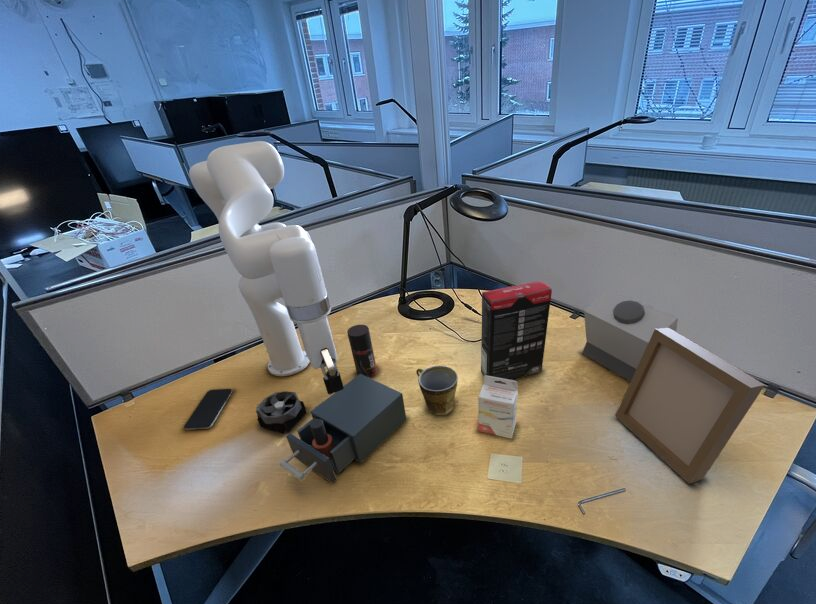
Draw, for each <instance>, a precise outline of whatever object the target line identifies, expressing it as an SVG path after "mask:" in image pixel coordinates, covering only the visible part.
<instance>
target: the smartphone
mask: <svg viewBox="0 0 816 604" xmlns="http://www.w3.org/2000/svg"><path fill="white" fill-rule="evenodd" d="M232 393H233V389H232V388H220V389H219V388H218V389H209V390H208V391H206V393H205V395H204V396H203V397H202V399H201V400H200V402H199V403H198V405H197V406H196V408H195V409H194V410H193V412H192V414H191V415H190V417H189V418H188V420H187V421H186V422H185V424H184V425H183V428H184V430H187V431H188V430H189V431H192V430H206V429H207V430H208V429H210V428H212V427H213V425H214V423H215V422H216V420H217V419H218V417H219V415H220V414H221V412H222V411H223V409H224V407H225V405H226V404H227V402H228V400H229V398H230V397H231V396H232Z"/></svg>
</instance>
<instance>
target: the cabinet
mask: <svg viewBox="0 0 816 604" xmlns="http://www.w3.org/2000/svg"><path fill="white" fill-rule="evenodd" d="M343 387H344V389H343V390H340V391H338V392H335V393H332V394H330V396H329V397H327V398H326V399H324V400H323V401H322V402H321V403H319V404H318V405H316V407H314V408H313V409H312V410H310V415H311V418H312V419H313V418H314V417H317V418H319V419H321V420H322V421H324V422H326V423H327V424H329V425H331V426H332V427H334V428H336V429H338V430H339V431H341V432H343V433H344V434H346V435H348V436H349V437H351V438H352V442H353V445H354V449H355V452H356V456H357V457H356V458H355V459H354V460H355V461H356V462H357V463H359V464H361V463H363V462H364V461H365V460H366V459H367V458H368V457H369V456H370V455H371V454H372V453H373V452H374V451H376V449H377V448H378V447H380V446H381V445H382V444H383V443H384V442H385V441H386V440H387V438H389V437H390V436H391V435H392V434H393V433H394V432H395V431H397V429H398V428H400V426H401V425H402V424H404V422H405V421H407V413H406V408H405V402H404V396H403V392H400V391H398V390H397V389H395V388H392V387H389V386H387V385H386V384H383V383H381V382H379V381H377V380H375V379H372V377H370V378H369V377H367V376H364V375H362V374H359V375H356V376H355V377H353V379H351V380H350V381H349V382H347V383H346V384H345V385H343ZM354 460H353V461H354Z"/></svg>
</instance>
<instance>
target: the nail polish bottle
mask: <svg viewBox="0 0 816 604" xmlns="http://www.w3.org/2000/svg"><path fill="white" fill-rule="evenodd" d="M310 428H311V430H312V433H313V436H314V440H313V442H312V445H313V447H314V449H316V450H317V451H319V452H320V453H322V454H323V455H325V456H326V457H328V458H329V459H330V460H331V459H332V457H331V454H330V451H331V450H333V449H334V448H335V446H334V443H333V439H332V437H331V435H329V434H327V433H326V430H325V427H324V424H323V421H322V420H320V419H316V420H313V421H312V422H311V423H310Z"/></svg>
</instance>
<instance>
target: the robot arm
mask: <svg viewBox="0 0 816 604" xmlns="http://www.w3.org/2000/svg"><path fill="white" fill-rule="evenodd" d="M284 166H285V165H284V163H283V159H282V157H281V155H280V154H279V152H278V151H277V149H276V148H275V147H274V146H273V145H272V144H271V143H269V142H267V141H264V140H256V141H250V142H241V143H236V144H229V145H224V146H219V147H218V148H215V149H212V151H211V152H210V153H209V154H208V155H207V159H206V160H204V161H199V162H197V163H195V164H193V165H191V167H190V168H189V171H188V175H189V180H190V182H191V184H192V186H193V188H194V191H196V193H197V194H198V196H199V197H200V199H202V201H203V202H204V203H205V204H206V205H207V206H208V207H209V209H210V210H211V212H212V213H214V215H215V217H216V219H217V221H218V234H219V239H220V241H221V244H222V246H223V248H224V251H225V252H226V254H227V255H228V257H229V260H230V261H231V264H232V265H233V267H234V268H235V270H236V271H237V273H239V275H241V277H240V279H239V280H238V289H239V292H240V294H241V296H242V297H243V299H244V301H245V303H246V304H247V306H248V308H249V310H250V311H251V314H252V317H253V318H254V321H255V324H256V326H257V329H258V331H259V334H260V336H261V339H262V342H263V344H264V347H265V351H266V353H267V355H268V357H269V361H268V363H267V370H268V372H269V374H270V375H272V376H275V377H288V376H292V375H296V374H298V373H300V372H301V371H304V369H305V368H307V367H308V366H309V364H310V365H311V367H312V369H314V370H318V369H320V370H321V372H322V374H323V377H322V379H323V383H324V386H325V390H326V393H327V394H328V395H333V394H334V393H335V392H338V391H340V390H343V389H344V387H343V386H344V384H343V379H342V377H341V373H340V371H339V370H338V366H337V364H336V363H337V362H338V360H339V359H338V353H337V350H336V346H335V343H334V342H335V341H334V338H333V334H332V330H331V328H330V323H329V320H328V316H329V315H330V313H331V311H332V308H331V303H330V299H329V296H328V292H327V289H326V284H325V279H324V276H323V272H322V268H321V264H320V260H319V257H318V253H317V249H316V246H315V244H314V243H313V240H312V237H311V236H310V233H309V232H308V231H307V230H305V229H304V228H303V227H302V226H300V225H297V224H290V225H286V224H284V223H283V222H279V221H276V222H275V221H274V222H269V223H265V224H262V225H260V224H259V223H260V222H261V221H262V220H264V219H265V218H267V216H268V215H269V214H270V213H271V212H272V209H273V207H274V200H275V199H274V195H273V193H272V191H271V190H272V189H274V188H275V187H277V186H278V185H279V184H280V183H281V182H282V181H283V180H284V178H285V167H284ZM282 300H283V302H284V305H283V304H282V303H280V302H279V301H282ZM294 323H296V326H297V330H298V332H299V335H300V339H301V342H302V345H303V346H302V345H301V342H300V340H299V336H298V333H297V330H296V327H295V324H294ZM302 347H303V349H304V350H303V349H302ZM325 367H326V368H325ZM326 370H327V371H326Z"/></svg>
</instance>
